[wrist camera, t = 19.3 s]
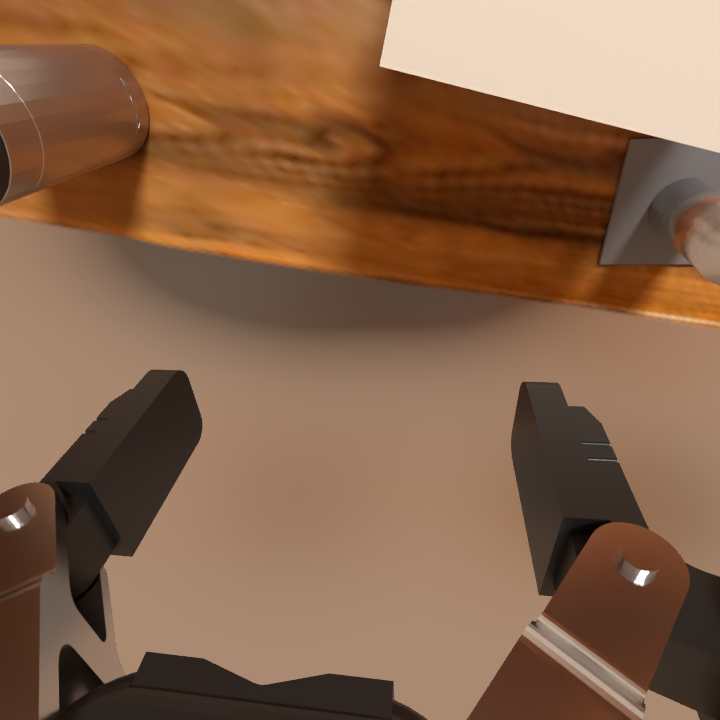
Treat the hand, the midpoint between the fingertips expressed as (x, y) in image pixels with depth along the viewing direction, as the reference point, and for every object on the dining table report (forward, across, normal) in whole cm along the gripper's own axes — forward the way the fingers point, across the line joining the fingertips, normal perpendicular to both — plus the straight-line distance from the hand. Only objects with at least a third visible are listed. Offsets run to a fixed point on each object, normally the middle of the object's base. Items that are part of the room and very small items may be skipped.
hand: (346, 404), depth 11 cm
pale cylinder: (+36, -24, +6) cm, 43 cm away
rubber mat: (+36, -24, +6) cm, 44 cm away
